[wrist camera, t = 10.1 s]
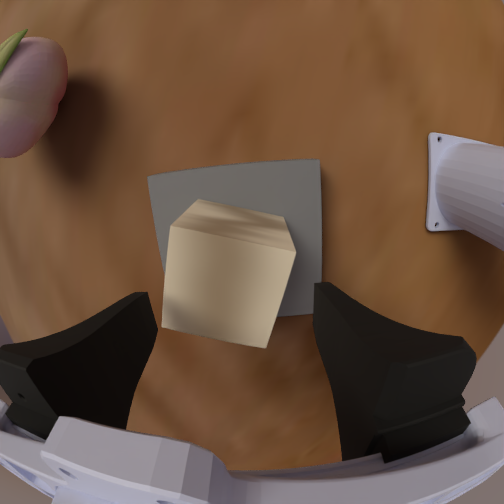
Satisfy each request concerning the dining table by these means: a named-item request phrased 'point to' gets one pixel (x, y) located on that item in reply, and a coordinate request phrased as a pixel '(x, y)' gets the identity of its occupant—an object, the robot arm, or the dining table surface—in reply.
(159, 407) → the dining table surface
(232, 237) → the birch cube
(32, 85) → the decorative fruit
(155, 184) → the charcoal base
